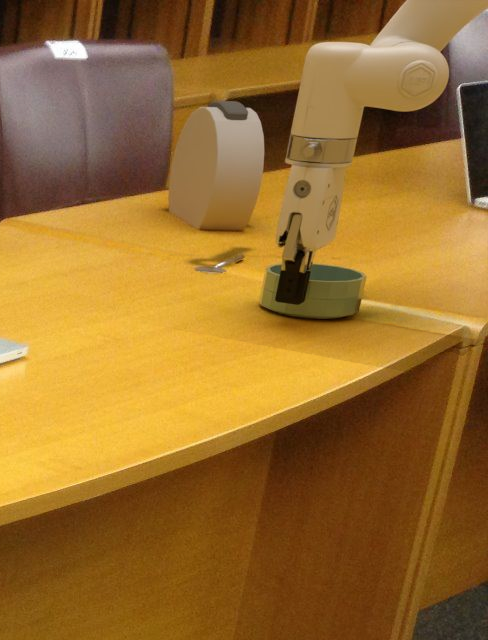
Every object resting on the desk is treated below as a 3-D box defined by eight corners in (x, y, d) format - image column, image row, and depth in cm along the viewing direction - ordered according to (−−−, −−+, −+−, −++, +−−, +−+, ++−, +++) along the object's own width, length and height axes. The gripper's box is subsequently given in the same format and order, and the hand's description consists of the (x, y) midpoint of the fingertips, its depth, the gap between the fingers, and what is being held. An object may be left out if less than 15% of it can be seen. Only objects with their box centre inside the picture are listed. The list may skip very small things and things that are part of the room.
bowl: (368, 308, 203) (376, 270, 201) (342, 325, 195) (350, 285, 192) (275, 296, 210) (282, 259, 207) (246, 311, 201) (253, 273, 199)
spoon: (226, 258, 233) (228, 251, 233) (256, 261, 231) (257, 255, 230) (188, 275, 222) (190, 268, 222) (219, 279, 220) (220, 272, 219)
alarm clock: (249, 240, 247) (277, 111, 238) (202, 239, 247) (229, 110, 238) (204, 214, 266) (229, 93, 256) (161, 213, 266) (184, 92, 256)
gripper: (335, 161, 179) (302, 317, 187) (369, 148, 190) (337, 296, 198) (269, 155, 183) (240, 308, 191) (306, 142, 194) (277, 288, 202)
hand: (289, 302), depth 195 cm, fingers closed
